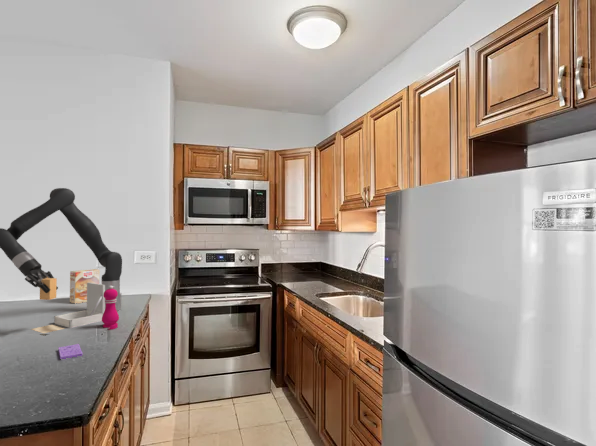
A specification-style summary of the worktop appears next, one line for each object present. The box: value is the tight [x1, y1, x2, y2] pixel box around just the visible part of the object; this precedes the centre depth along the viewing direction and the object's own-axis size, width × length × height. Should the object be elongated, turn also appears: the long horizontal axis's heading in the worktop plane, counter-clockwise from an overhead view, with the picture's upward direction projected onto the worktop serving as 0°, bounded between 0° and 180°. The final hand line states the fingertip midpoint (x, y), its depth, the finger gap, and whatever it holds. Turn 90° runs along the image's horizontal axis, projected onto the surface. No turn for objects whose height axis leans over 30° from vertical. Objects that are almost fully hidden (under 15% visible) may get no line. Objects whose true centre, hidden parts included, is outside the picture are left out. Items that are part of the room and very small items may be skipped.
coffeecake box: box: [69, 268, 101, 305], centre depth 231 cm, size 15×7×20 cm, turn 147°
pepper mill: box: [101, 286, 120, 331], centre depth 173 cm, size 7×7×20 cm
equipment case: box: [53, 283, 105, 329], centre depth 179 cm, size 17×14×18 cm
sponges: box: [58, 343, 84, 360], centre depth 139 cm, size 7×13×2 cm, turn 36°
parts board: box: [30, 324, 66, 337], centre depth 167 cm, size 9×12×1 cm
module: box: [39, 277, 58, 301], centre depth 167 cm, size 4×4×9 cm
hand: (52, 290), depth 167 cm, fingers closed on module, 4 cm apart
